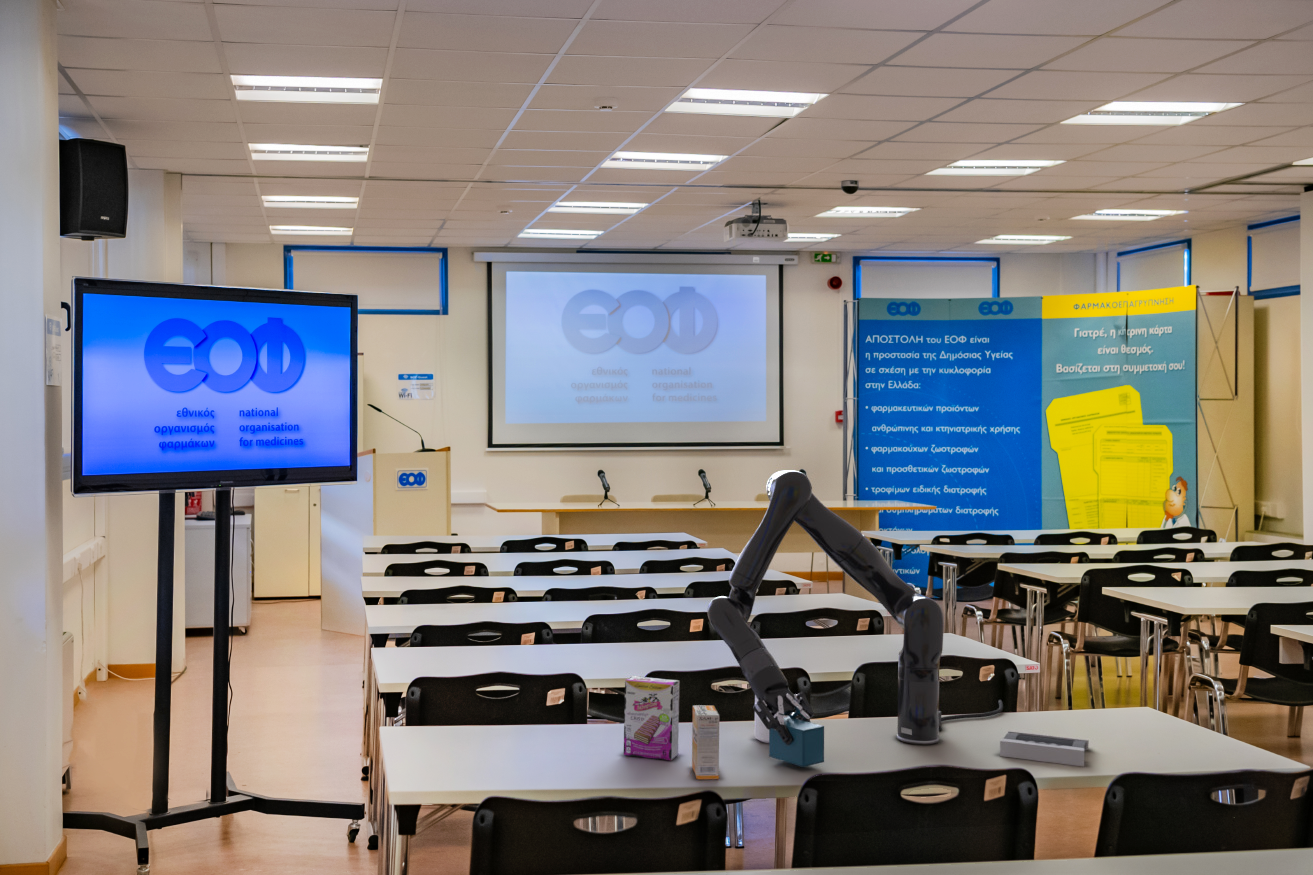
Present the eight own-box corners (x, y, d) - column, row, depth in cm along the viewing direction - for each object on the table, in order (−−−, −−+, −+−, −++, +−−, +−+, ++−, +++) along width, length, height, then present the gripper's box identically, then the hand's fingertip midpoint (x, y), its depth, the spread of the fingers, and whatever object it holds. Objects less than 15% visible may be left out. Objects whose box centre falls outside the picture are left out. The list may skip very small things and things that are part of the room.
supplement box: (690, 767, 228) (691, 704, 228) (713, 767, 228) (714, 704, 228) (695, 779, 220) (696, 714, 220) (719, 779, 220) (720, 714, 220)
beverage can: (788, 745, 247) (789, 691, 247) (752, 742, 248) (753, 689, 248) (791, 736, 255) (792, 684, 255) (756, 733, 256) (757, 682, 256)
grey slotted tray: (1000, 740, 240) (1009, 718, 255) (1000, 761, 241) (1009, 738, 255) (1083, 750, 233) (1088, 727, 248) (1083, 771, 233) (1088, 747, 248)
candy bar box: (622, 755, 236) (623, 679, 236) (630, 750, 241) (631, 675, 241) (671, 761, 232) (673, 683, 233) (679, 755, 237) (680, 679, 237)
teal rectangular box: (768, 756, 233) (769, 720, 233) (789, 751, 237) (789, 716, 237) (803, 767, 225) (803, 730, 225) (824, 761, 229) (824, 725, 229)
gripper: (747, 667, 233) (787, 735, 223) (795, 660, 242) (835, 724, 232) (730, 688, 237) (768, 755, 227) (778, 680, 246) (816, 744, 236)
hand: (802, 739), depth 230 cm, fingers closed on teal rectangular box, 6 cm apart
